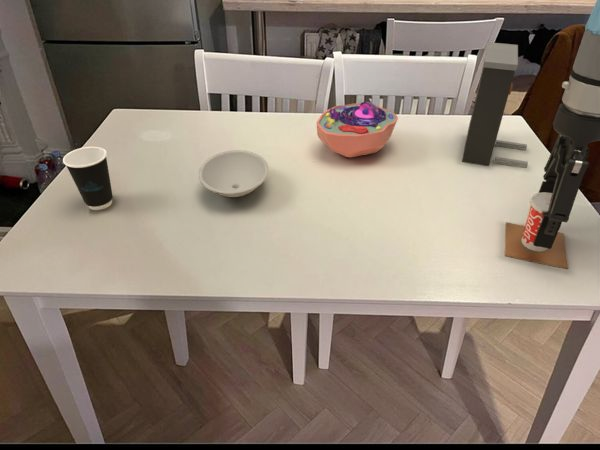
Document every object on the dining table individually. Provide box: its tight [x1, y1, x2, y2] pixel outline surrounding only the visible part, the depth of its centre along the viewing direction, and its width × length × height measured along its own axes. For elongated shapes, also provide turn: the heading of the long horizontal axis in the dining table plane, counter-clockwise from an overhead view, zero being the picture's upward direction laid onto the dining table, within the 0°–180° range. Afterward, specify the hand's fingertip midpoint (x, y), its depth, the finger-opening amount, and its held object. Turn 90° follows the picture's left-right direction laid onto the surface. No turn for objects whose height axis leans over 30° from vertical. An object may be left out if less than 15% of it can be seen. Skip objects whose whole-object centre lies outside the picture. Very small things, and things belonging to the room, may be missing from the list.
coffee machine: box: [461, 42, 529, 169], centre depth 104 cm, size 14×14×23 cm
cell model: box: [316, 101, 399, 158], centre depth 109 cm, size 17×20×11 cm
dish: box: [198, 149, 270, 198], centre depth 97 cm, size 18×14×5 cm
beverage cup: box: [521, 192, 552, 252], centre depth 79 cm, size 6×6×14 cm
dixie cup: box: [62, 146, 114, 211], centre depth 92 cm, size 8×8×11 cm
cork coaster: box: [504, 221, 569, 270], centre depth 83 cm, size 10×10×1 cm
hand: (540, 229), depth 81 cm, fingers open, 9 cm apart
